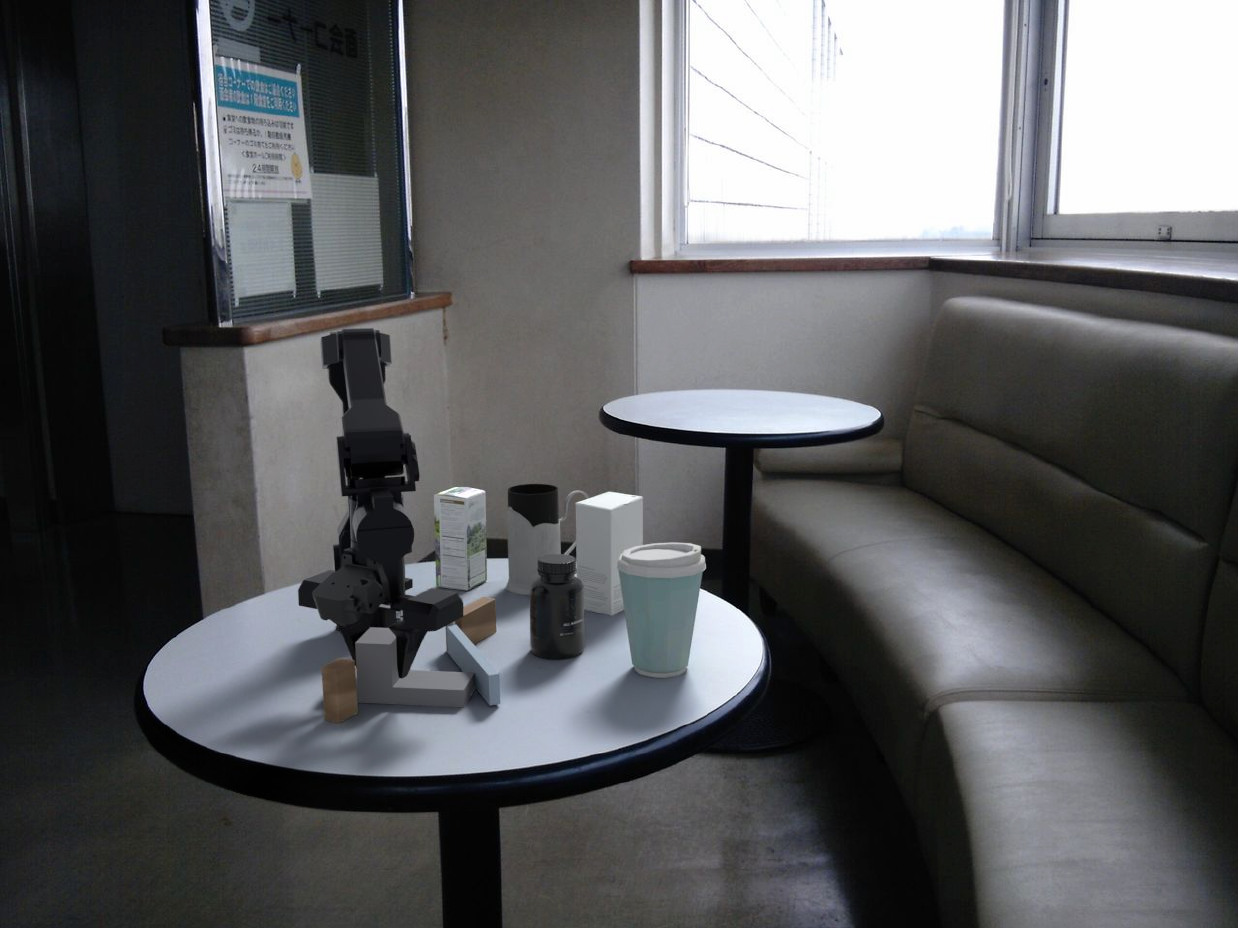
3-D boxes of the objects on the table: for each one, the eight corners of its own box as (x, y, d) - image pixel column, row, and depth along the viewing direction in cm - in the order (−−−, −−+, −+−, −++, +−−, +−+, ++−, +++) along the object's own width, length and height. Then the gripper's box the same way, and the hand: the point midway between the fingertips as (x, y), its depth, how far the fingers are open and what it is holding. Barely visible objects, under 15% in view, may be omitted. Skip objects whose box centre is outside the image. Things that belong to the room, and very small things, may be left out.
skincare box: (609, 594, 158) (608, 490, 155) (646, 602, 154) (646, 495, 151) (574, 609, 151) (572, 501, 148) (612, 617, 147) (611, 507, 144)
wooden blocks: (324, 719, 115) (321, 666, 114) (483, 629, 143) (482, 586, 142) (339, 723, 114) (336, 669, 113) (496, 631, 142) (495, 587, 141)
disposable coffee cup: (603, 678, 126) (602, 555, 123) (634, 648, 136) (633, 532, 133) (691, 690, 122) (691, 563, 119) (715, 657, 132) (716, 539, 129)
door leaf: (489, 705, 118) (488, 671, 117) (445, 649, 135) (444, 619, 134) (500, 704, 118) (499, 669, 117) (454, 648, 135) (453, 618, 135)
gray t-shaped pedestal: (323, 701, 120) (320, 641, 118) (339, 683, 125) (336, 626, 123) (464, 707, 118) (462, 646, 117) (474, 688, 123) (473, 630, 122)
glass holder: (495, 584, 163) (492, 487, 160) (576, 568, 171) (574, 476, 168) (523, 598, 156) (520, 497, 153) (605, 582, 164) (604, 485, 161)
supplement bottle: (577, 662, 131) (576, 567, 129) (523, 658, 132) (521, 564, 130) (590, 643, 138) (589, 552, 135) (539, 639, 139) (536, 550, 137)
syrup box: (455, 577, 167) (452, 485, 164) (488, 581, 164) (485, 488, 162) (435, 587, 162) (431, 493, 159) (469, 591, 159) (466, 496, 157)
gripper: (258, 543, 114) (265, 682, 117) (402, 568, 106) (405, 716, 109) (329, 521, 124) (334, 649, 127) (465, 542, 116) (467, 678, 119)
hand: (381, 672), depth 120 cm, fingers open, 5 cm apart
